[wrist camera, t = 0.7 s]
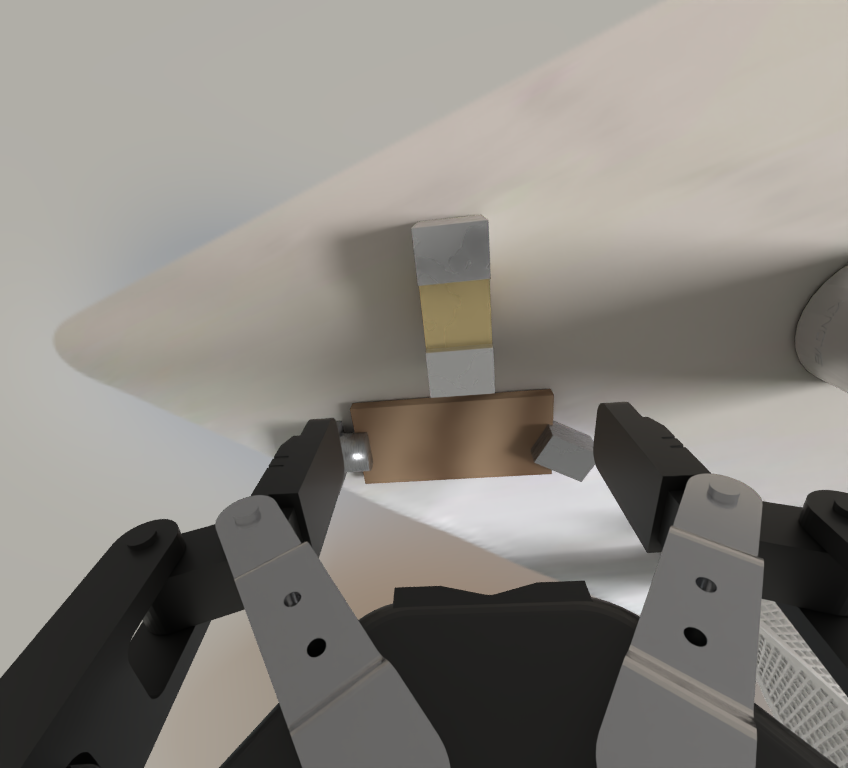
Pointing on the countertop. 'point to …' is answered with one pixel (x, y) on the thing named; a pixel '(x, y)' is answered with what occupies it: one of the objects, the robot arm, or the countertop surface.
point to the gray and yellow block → (455, 304)
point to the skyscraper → (800, 687)
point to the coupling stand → (463, 439)
